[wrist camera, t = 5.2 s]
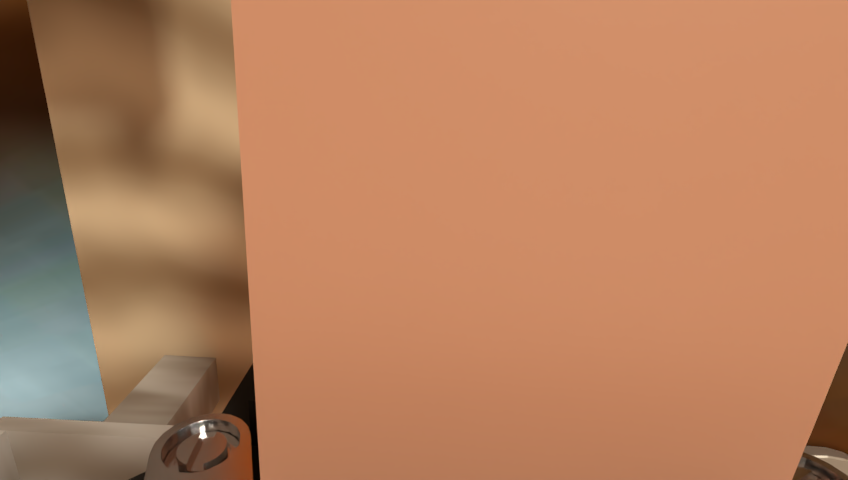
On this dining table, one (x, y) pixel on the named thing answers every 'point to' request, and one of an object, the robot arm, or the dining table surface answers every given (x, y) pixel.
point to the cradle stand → (144, 223)
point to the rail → (542, 235)
